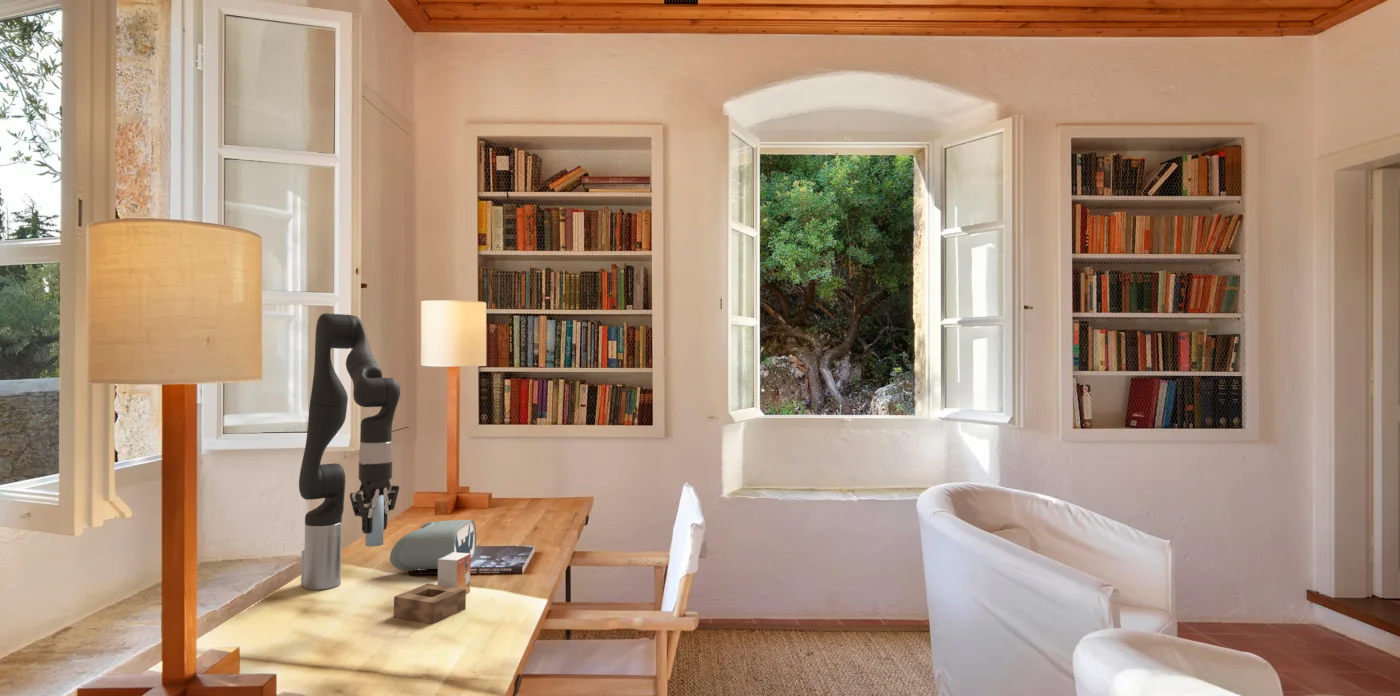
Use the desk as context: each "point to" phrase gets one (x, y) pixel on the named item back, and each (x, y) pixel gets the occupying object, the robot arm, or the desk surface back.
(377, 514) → the peg
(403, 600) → the socket block
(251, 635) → the desk surface
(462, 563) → the small box
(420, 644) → the desk surface
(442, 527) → the pencil case
